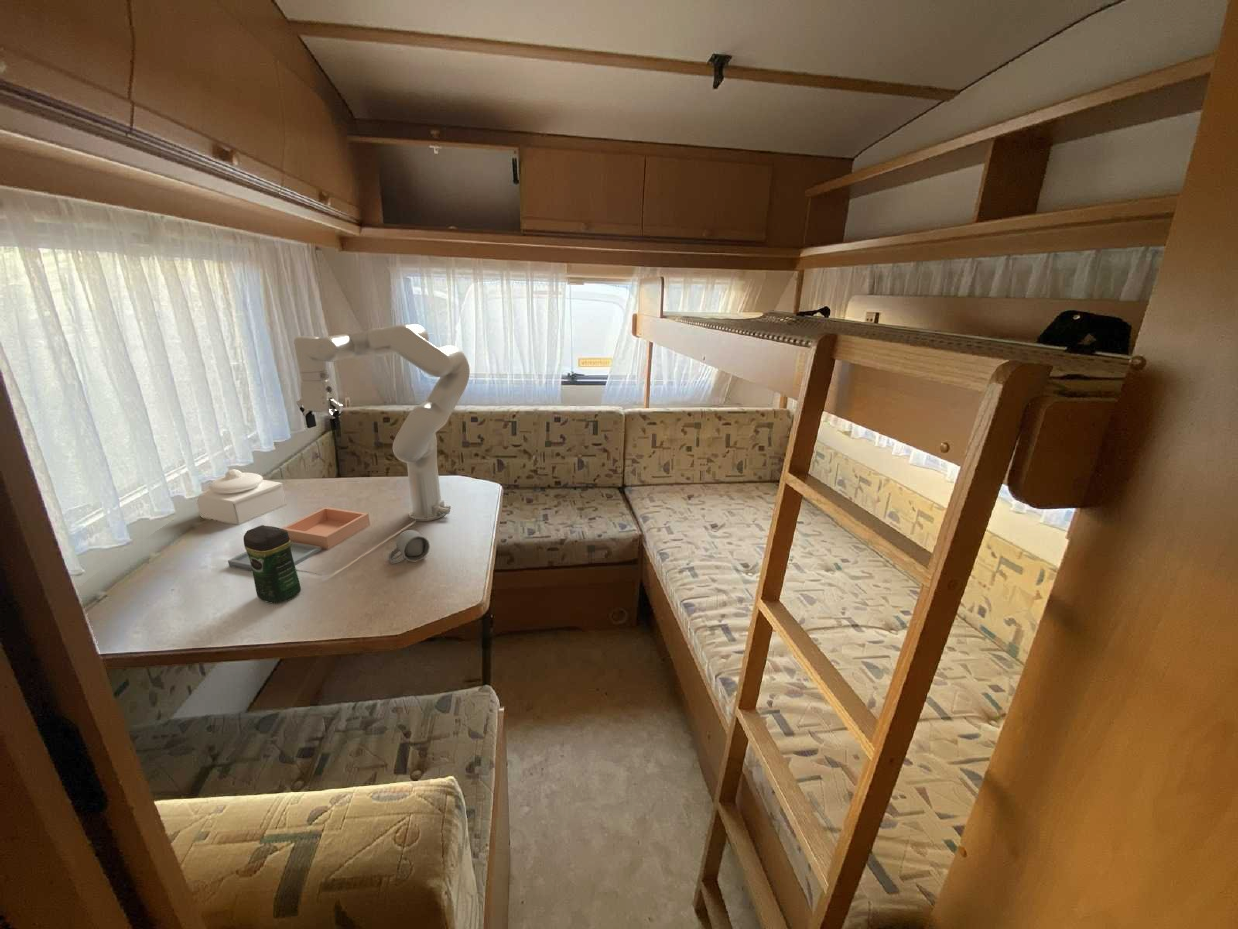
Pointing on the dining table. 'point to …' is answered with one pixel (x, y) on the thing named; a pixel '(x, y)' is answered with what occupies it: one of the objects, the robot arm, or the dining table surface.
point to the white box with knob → (240, 498)
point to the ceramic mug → (410, 547)
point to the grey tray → (297, 550)
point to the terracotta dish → (327, 527)
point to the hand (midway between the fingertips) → (323, 428)
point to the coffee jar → (272, 563)
